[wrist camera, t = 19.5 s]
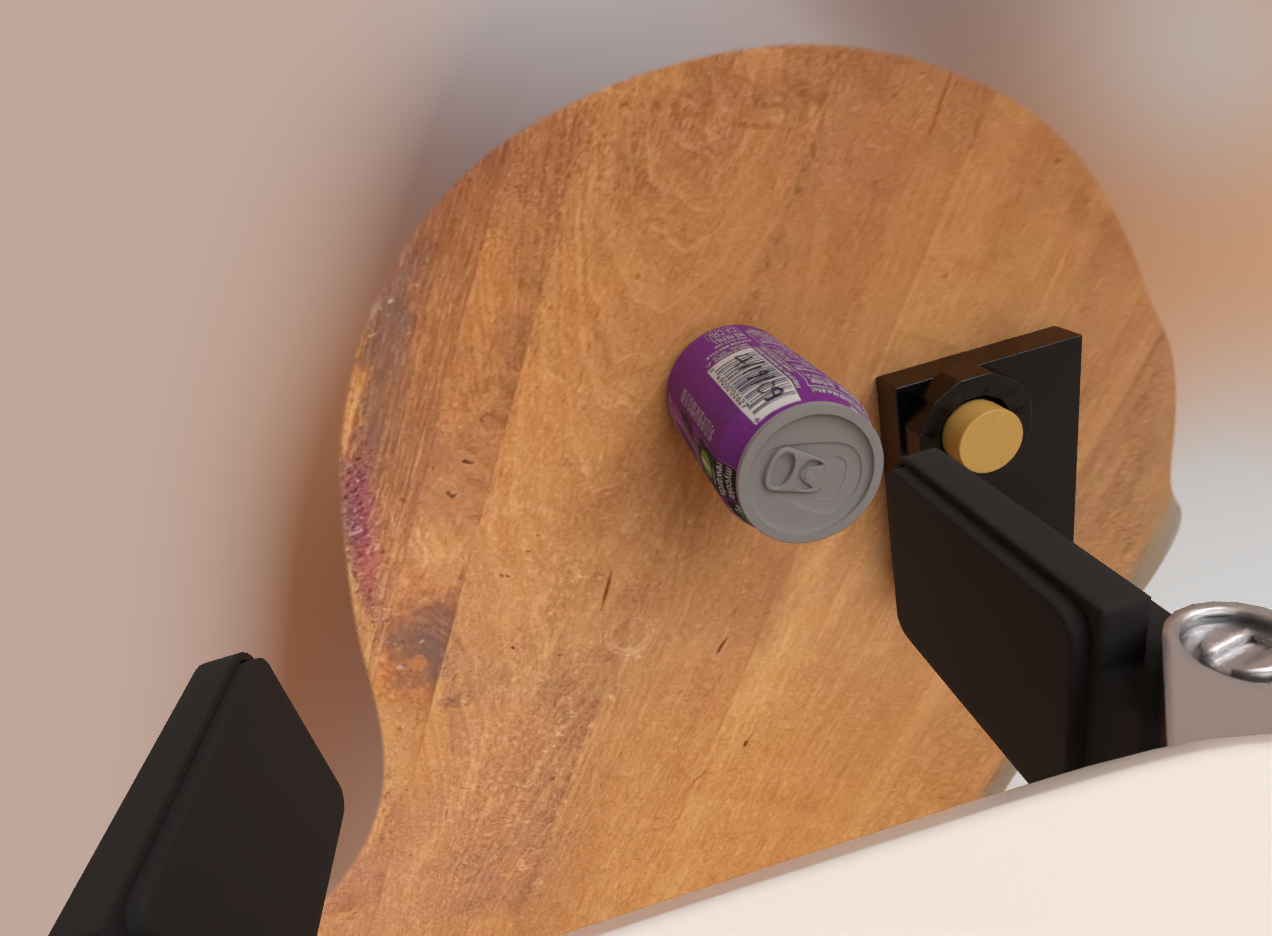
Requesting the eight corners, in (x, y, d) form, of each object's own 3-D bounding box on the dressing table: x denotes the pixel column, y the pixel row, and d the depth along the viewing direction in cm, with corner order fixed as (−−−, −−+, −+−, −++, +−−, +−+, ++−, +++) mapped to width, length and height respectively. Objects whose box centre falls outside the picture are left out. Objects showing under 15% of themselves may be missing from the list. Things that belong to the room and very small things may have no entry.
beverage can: (647, 431, 41) (703, 538, 30) (686, 306, 38) (762, 373, 27) (762, 456, 42) (854, 565, 32) (807, 339, 40) (923, 413, 29)
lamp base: (875, 372, 42) (911, 395, 38) (1055, 321, 42) (1107, 338, 39) (893, 576, 48) (926, 612, 44) (1049, 528, 48) (1094, 559, 45)
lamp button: (939, 409, 39) (958, 420, 37) (1002, 390, 39) (1023, 401, 38) (942, 468, 41) (960, 481, 39) (1002, 450, 41) (1023, 462, 39)
